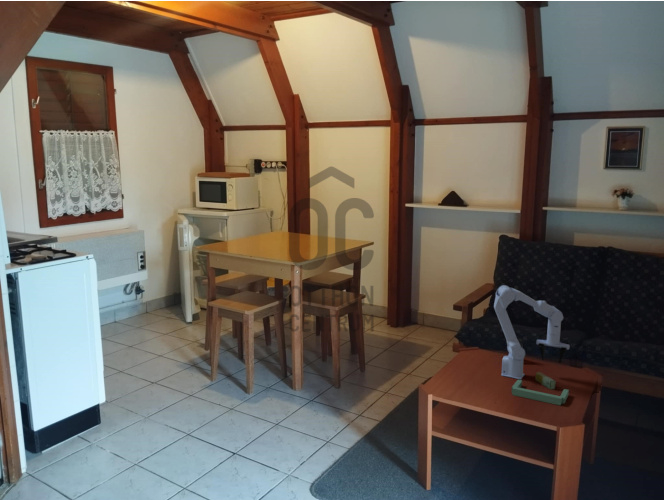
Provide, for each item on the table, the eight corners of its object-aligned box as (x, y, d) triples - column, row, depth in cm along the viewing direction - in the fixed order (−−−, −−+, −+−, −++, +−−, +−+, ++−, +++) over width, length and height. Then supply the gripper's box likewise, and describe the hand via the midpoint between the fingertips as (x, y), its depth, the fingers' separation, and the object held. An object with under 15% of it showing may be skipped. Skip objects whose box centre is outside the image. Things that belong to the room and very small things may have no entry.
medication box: (555, 389, 250) (556, 381, 250) (550, 389, 250) (550, 381, 249) (539, 379, 262) (540, 371, 261) (534, 380, 261) (535, 372, 261)
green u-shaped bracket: (510, 394, 243) (510, 387, 243) (517, 384, 255) (517, 378, 254) (563, 406, 232) (563, 399, 232) (568, 395, 243) (568, 388, 243)
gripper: (571, 334, 262) (569, 361, 264) (539, 329, 269) (537, 355, 271) (568, 337, 256) (566, 365, 258) (536, 332, 263) (534, 359, 265)
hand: (551, 361), depth 264 cm, fingers open, 7 cm apart
